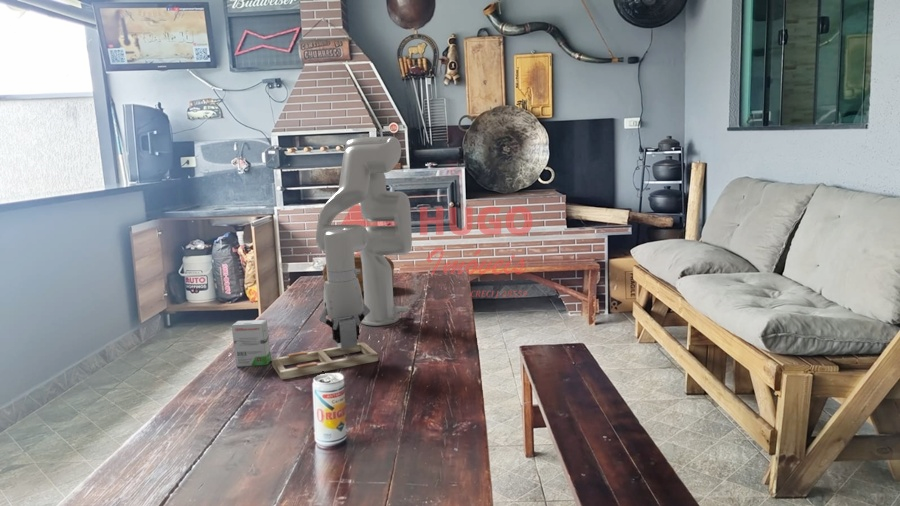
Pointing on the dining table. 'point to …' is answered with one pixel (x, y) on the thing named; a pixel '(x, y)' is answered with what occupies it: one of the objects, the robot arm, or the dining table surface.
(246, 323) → the ink box
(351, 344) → the grey rectangular block
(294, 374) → the wooden frame
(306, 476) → the dining table surface
